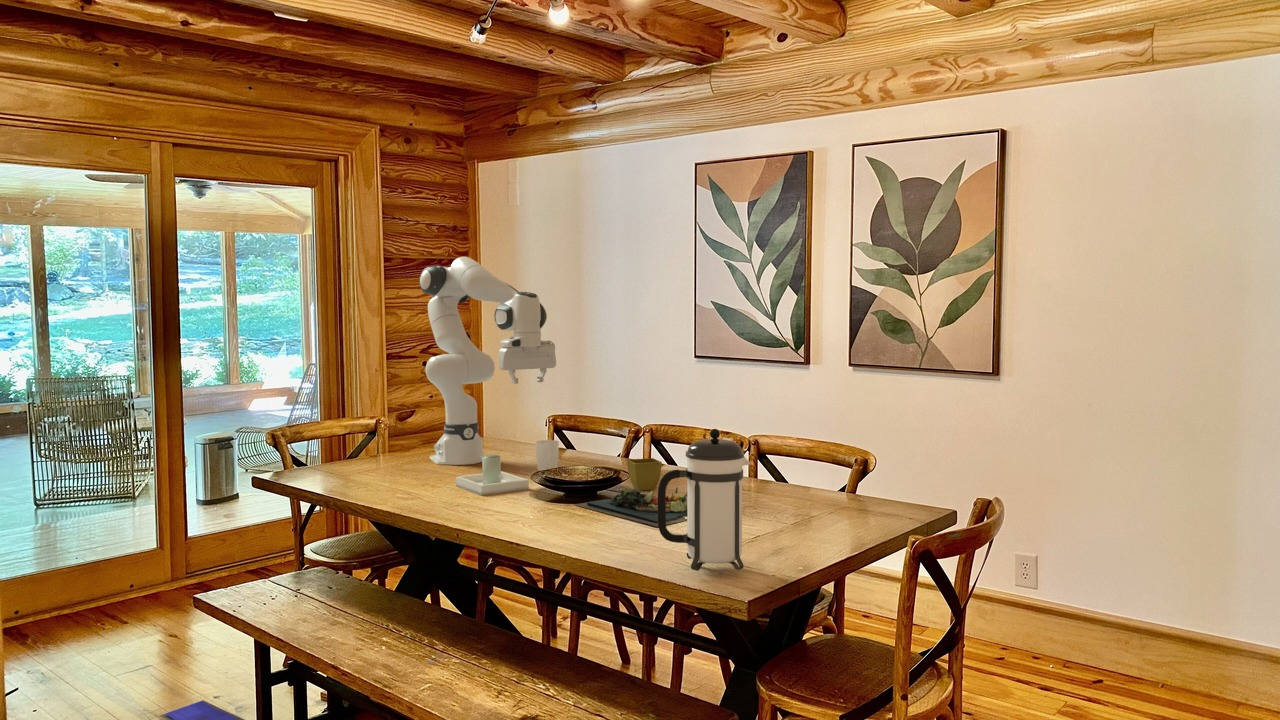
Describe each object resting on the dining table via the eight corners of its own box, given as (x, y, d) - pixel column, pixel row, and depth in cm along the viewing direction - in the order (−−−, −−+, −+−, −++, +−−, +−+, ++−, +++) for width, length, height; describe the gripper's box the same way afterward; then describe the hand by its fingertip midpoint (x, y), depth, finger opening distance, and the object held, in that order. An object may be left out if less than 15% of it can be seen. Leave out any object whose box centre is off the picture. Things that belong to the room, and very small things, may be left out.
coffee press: (709, 550, 219) (709, 422, 217) (762, 564, 207) (763, 428, 205) (655, 564, 207) (655, 429, 205) (709, 580, 195) (709, 436, 194)
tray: (456, 486, 296) (456, 476, 296) (501, 480, 305) (501, 471, 305) (481, 495, 281) (481, 485, 281) (528, 489, 291) (528, 479, 290)
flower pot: (626, 487, 293) (626, 459, 293) (653, 485, 296) (653, 457, 295) (635, 493, 285) (635, 463, 284) (662, 491, 288) (662, 462, 287)
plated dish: (729, 512, 263) (729, 486, 262) (657, 529, 243) (657, 501, 243) (642, 493, 288) (642, 470, 288) (571, 507, 269) (571, 482, 268)
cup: (480, 484, 294) (479, 455, 293) (496, 482, 297) (495, 453, 296) (487, 487, 289) (486, 458, 289) (504, 485, 293) (503, 456, 292)
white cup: (557, 472, 319) (557, 443, 319) (534, 472, 319) (534, 443, 319) (560, 468, 327) (559, 440, 326) (537, 468, 327) (537, 440, 327)
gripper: (550, 340, 319) (550, 380, 320) (495, 341, 307) (496, 383, 308) (559, 340, 314) (559, 381, 315) (504, 342, 302) (505, 385, 303)
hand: (527, 382), depth 311 cm, fingers open, 8 cm apart
